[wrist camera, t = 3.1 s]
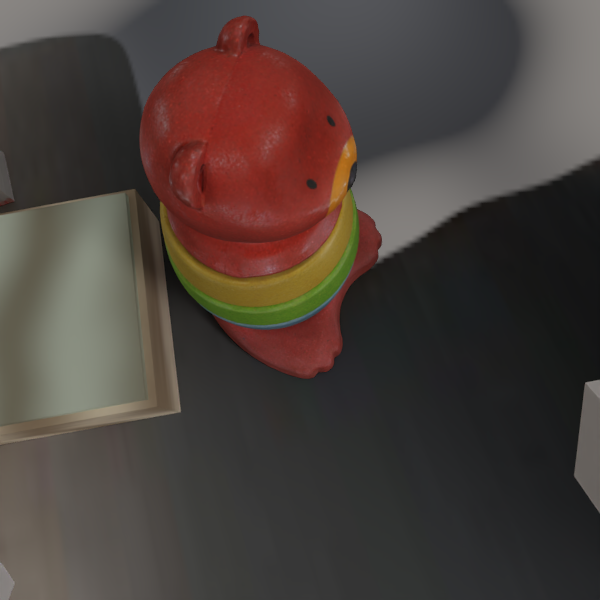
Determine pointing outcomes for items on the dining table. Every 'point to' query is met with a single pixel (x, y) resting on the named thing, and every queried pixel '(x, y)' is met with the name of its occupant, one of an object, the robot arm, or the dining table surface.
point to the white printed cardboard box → (5, 182)
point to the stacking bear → (259, 197)
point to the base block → (83, 318)
